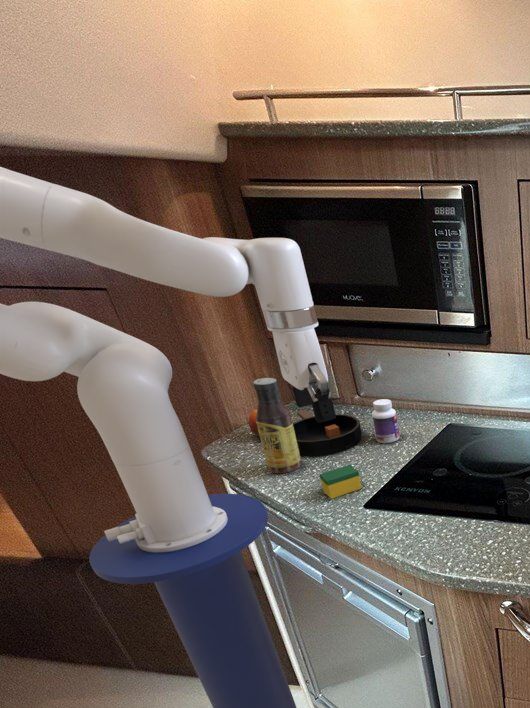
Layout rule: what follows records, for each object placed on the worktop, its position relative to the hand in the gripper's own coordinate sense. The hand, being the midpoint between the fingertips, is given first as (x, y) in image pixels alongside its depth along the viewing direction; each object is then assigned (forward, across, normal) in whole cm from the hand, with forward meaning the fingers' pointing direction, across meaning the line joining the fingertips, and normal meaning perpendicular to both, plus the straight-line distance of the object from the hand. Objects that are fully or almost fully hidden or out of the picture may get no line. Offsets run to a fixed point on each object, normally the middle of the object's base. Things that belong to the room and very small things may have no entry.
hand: (316, 412), depth 91 cm
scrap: (+17, -26, +9) cm, 32 cm away
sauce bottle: (+18, -18, -4) cm, 25 cm away
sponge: (+18, -1, +1) cm, 18 cm away
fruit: (+18, -38, -1) cm, 42 cm away
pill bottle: (+18, -18, +19) cm, 31 cm away
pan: (+18, -29, +7) cm, 35 cm away
